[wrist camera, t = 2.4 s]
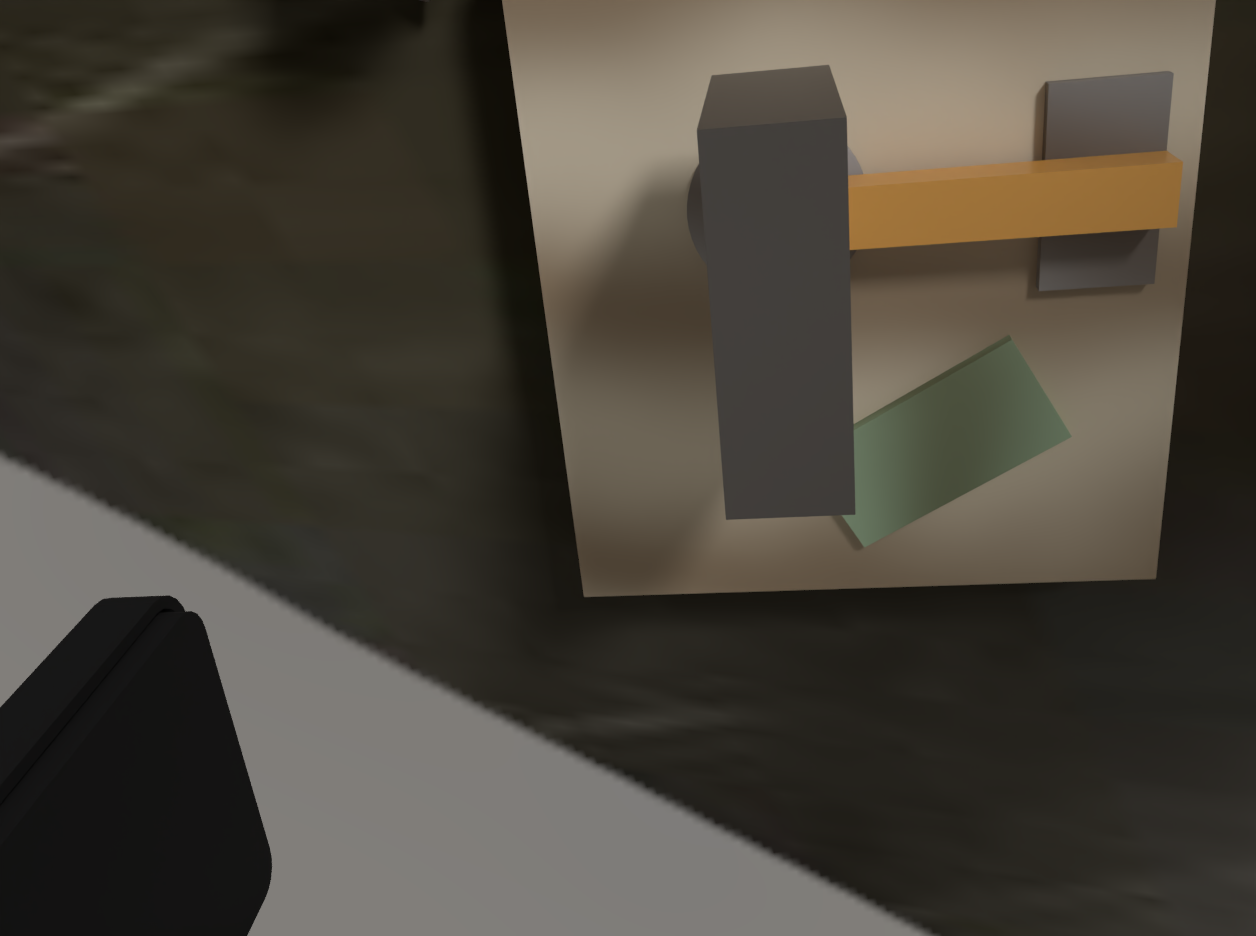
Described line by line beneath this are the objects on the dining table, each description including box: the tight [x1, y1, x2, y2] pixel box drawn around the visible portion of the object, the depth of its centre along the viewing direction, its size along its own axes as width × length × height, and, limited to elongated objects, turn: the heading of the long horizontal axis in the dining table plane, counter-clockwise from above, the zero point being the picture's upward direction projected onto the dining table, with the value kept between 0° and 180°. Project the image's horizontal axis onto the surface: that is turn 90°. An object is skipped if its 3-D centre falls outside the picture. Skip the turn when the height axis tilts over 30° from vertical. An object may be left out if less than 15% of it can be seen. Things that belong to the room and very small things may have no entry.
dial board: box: [502, 0, 1216, 597], centre depth 25 cm, size 15×13×3 cm
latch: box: [697, 65, 1183, 520], centre depth 20 cm, size 8×6×7 cm
